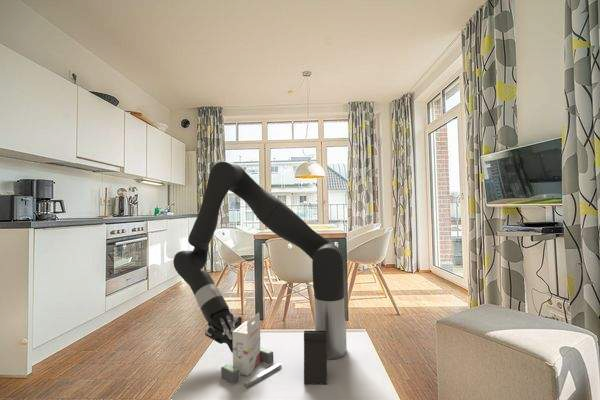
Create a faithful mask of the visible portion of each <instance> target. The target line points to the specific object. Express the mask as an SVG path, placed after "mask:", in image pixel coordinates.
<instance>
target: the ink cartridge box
mask: <svg viewBox="0 0 600 400" xmlns="http://www.w3.org/2000/svg"><path fill="white" fill-rule="evenodd" d="M260 348H261V319H260V312H258V313H256V314H255V315H254V316H252V317H251V318H250V319H249V320H245V321H244V322H243V323H241V325H240V326H239V327H238V328H236V329H235V330H234V331H233V353H232V367H234V368H236V369H238V370H239V375H241V376H249V375H250V373H252V372H253V370H254V369H255V368H256V367H257V365H258V364H259V363H260V362H261V361H260Z"/></svg>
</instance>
